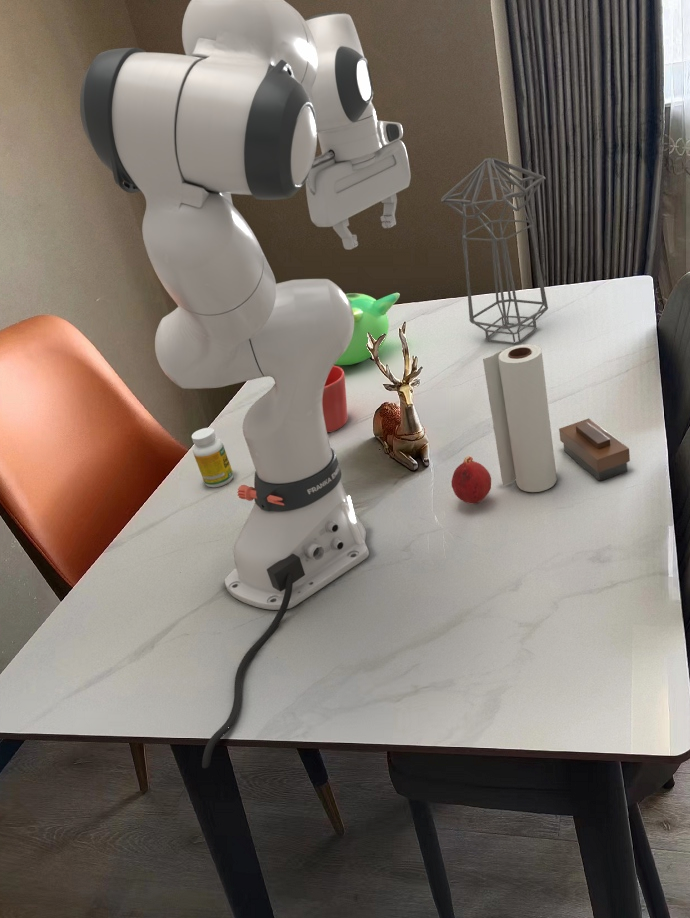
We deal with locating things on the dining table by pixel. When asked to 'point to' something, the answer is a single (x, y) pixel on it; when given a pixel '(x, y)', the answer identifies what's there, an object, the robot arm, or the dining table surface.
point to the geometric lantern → (477, 182)
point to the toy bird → (366, 325)
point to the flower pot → (335, 400)
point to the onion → (471, 481)
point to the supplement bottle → (211, 458)
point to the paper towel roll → (521, 417)
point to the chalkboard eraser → (595, 449)
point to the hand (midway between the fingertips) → (371, 237)
